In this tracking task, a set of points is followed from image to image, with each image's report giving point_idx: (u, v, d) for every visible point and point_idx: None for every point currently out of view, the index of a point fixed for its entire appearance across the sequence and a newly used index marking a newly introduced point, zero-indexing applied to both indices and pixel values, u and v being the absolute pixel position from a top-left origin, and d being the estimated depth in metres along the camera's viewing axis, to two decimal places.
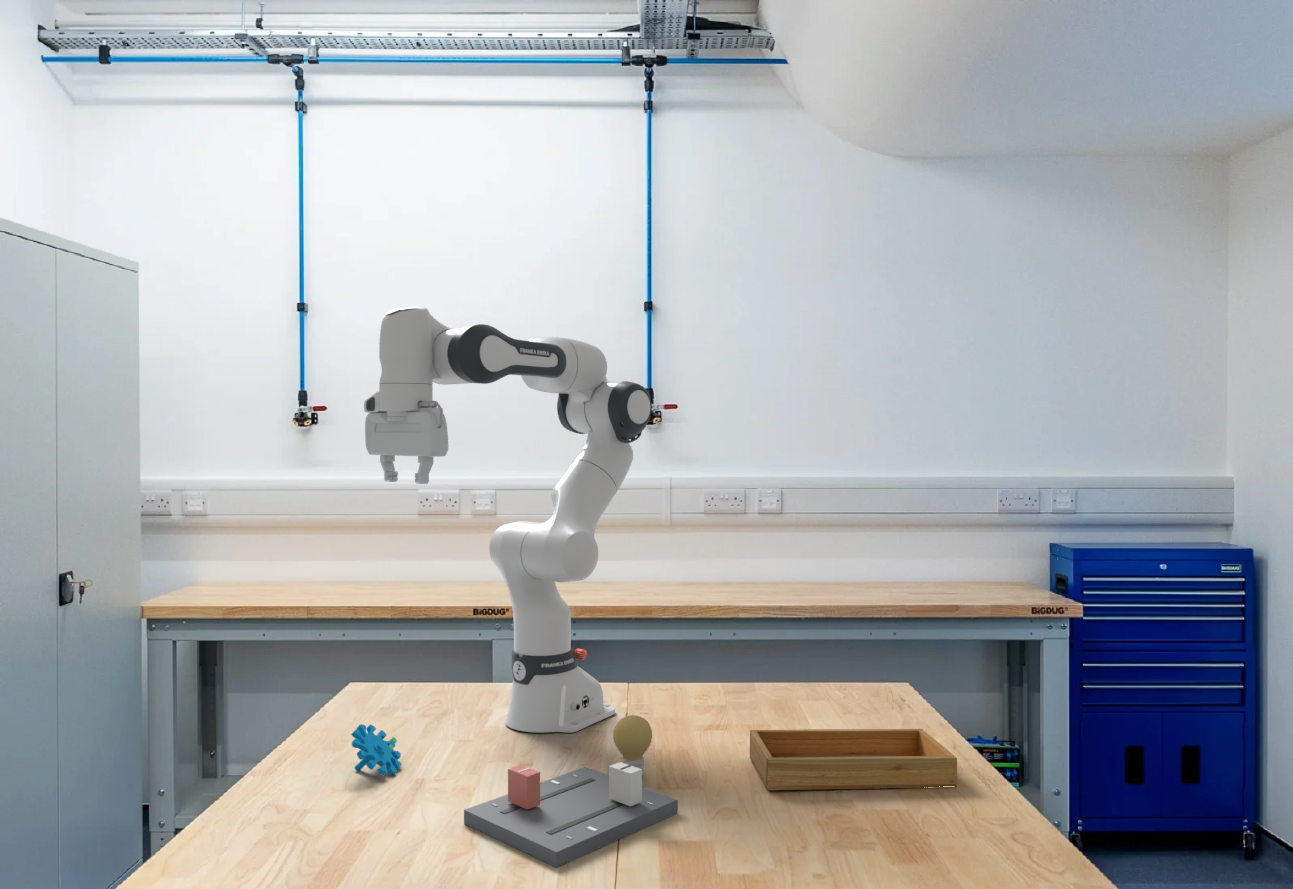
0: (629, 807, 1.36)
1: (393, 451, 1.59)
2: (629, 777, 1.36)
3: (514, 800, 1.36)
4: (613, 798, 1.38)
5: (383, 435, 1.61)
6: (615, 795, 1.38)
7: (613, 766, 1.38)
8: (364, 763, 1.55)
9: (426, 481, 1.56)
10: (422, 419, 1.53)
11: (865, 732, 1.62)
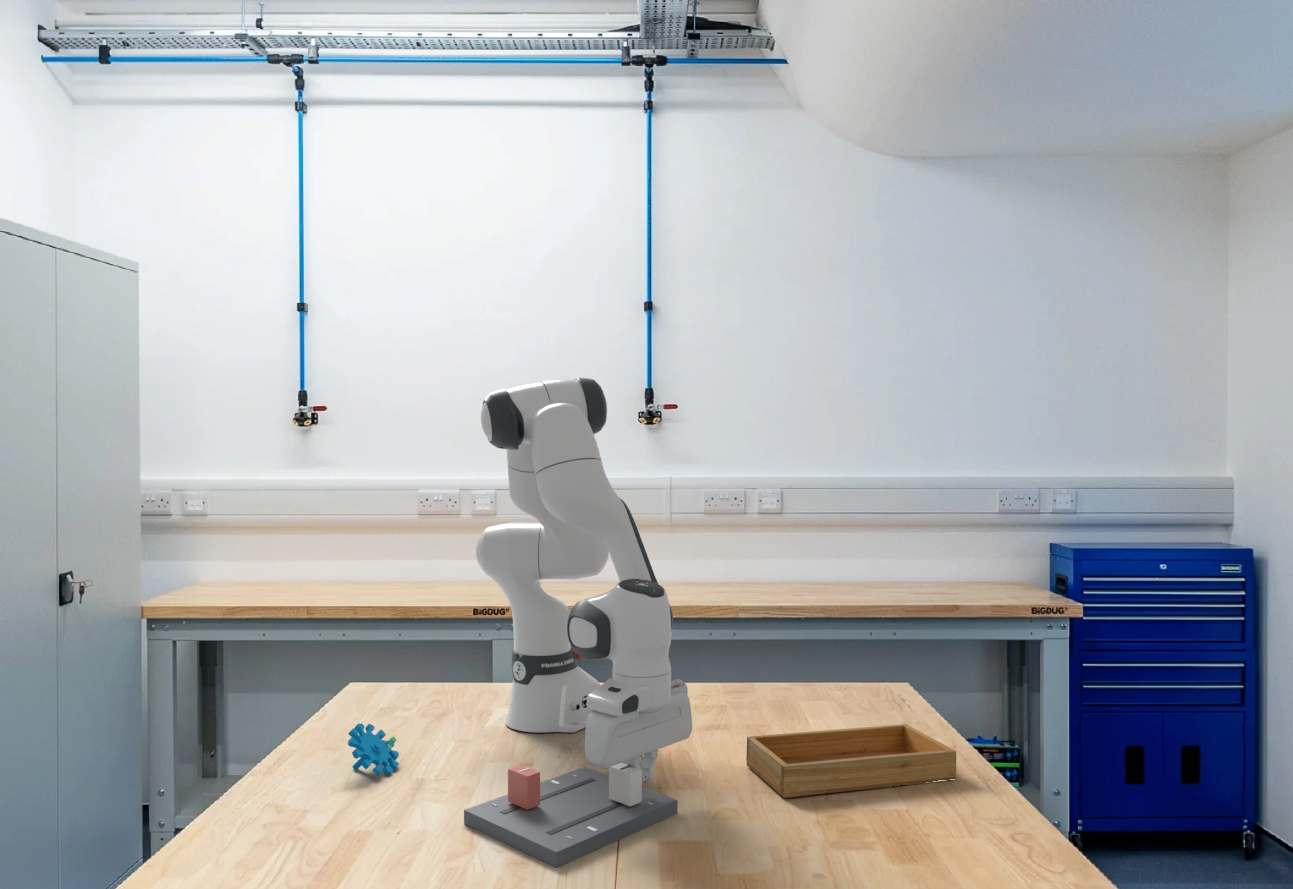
0: (629, 807, 1.36)
1: (645, 749, 1.38)
2: (628, 777, 1.36)
3: (514, 800, 1.36)
4: (613, 798, 1.38)
5: (630, 737, 1.36)
6: (615, 795, 1.38)
7: (613, 766, 1.38)
8: (361, 762, 1.56)
9: None
10: (683, 701, 1.44)
11: (856, 731, 1.63)
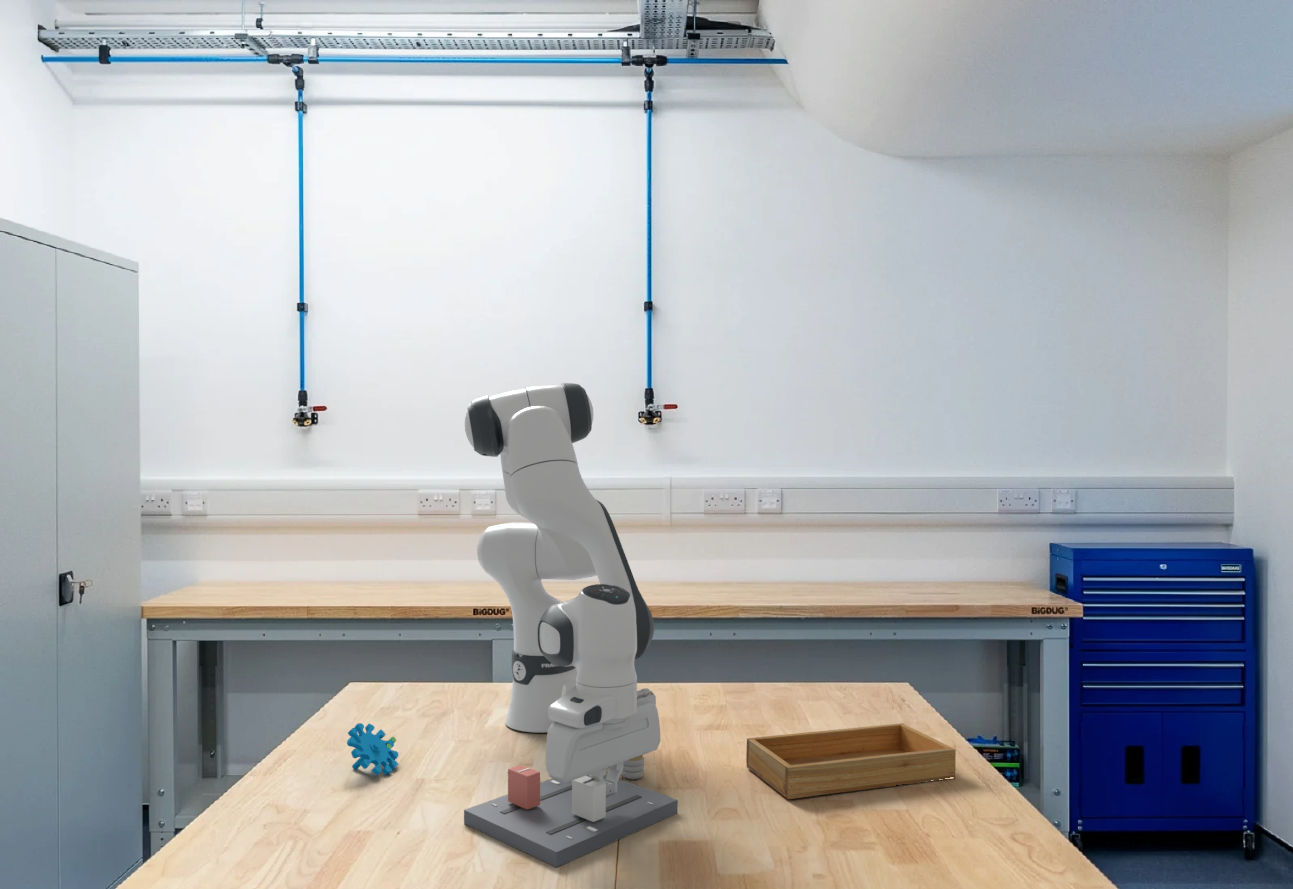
0: (629, 807, 1.36)
1: (610, 762, 1.33)
2: (591, 791, 1.30)
3: (514, 800, 1.36)
4: (576, 813, 1.32)
5: (594, 750, 1.30)
6: (578, 810, 1.32)
7: (576, 780, 1.33)
8: (361, 762, 1.56)
9: None
10: (651, 712, 1.39)
11: (853, 731, 1.63)
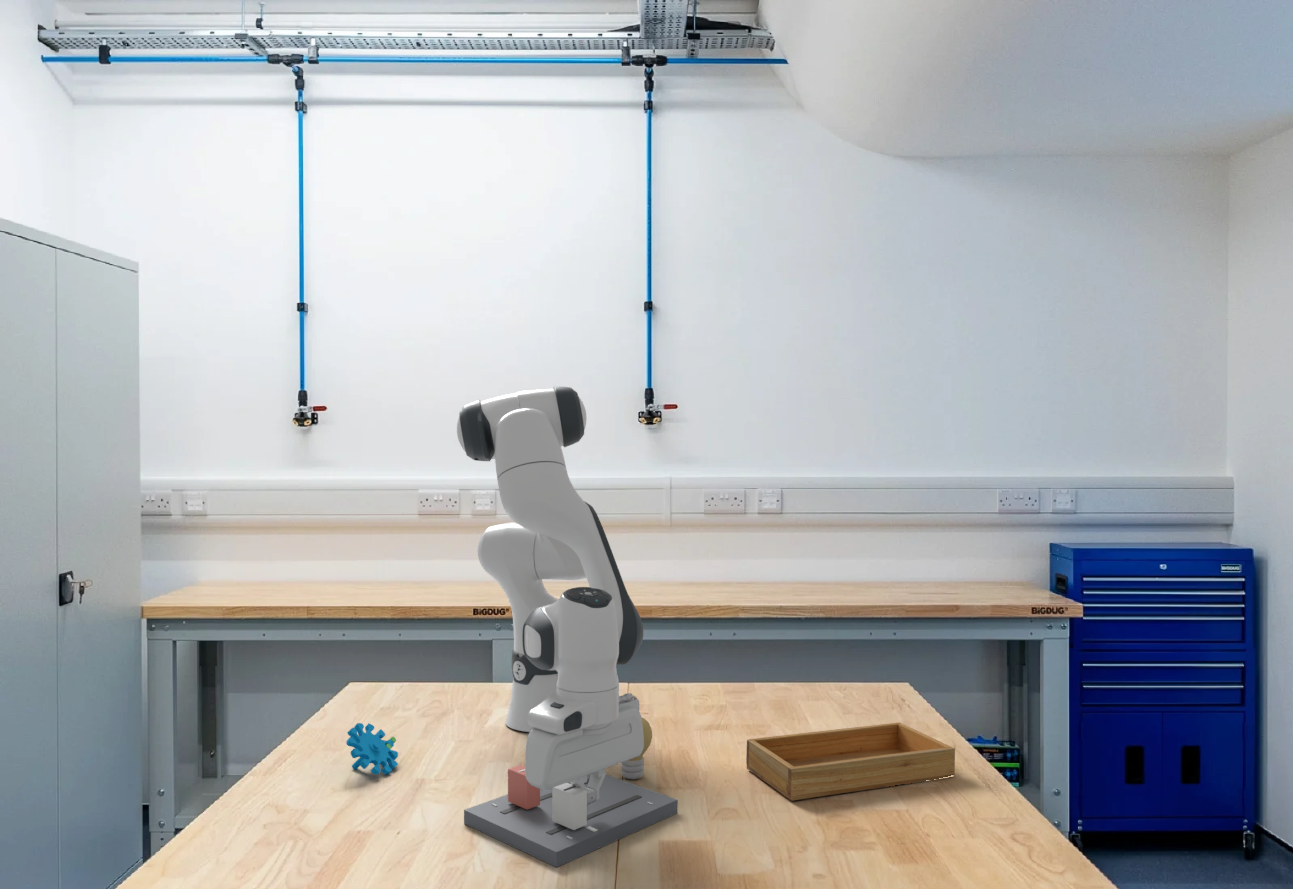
0: (629, 807, 1.36)
1: (591, 769, 1.30)
2: (572, 799, 1.27)
3: (514, 800, 1.36)
4: (556, 821, 1.30)
5: (574, 756, 1.28)
6: (558, 817, 1.29)
7: (556, 787, 1.30)
8: (360, 762, 1.56)
9: None
10: (634, 717, 1.36)
11: (852, 731, 1.63)
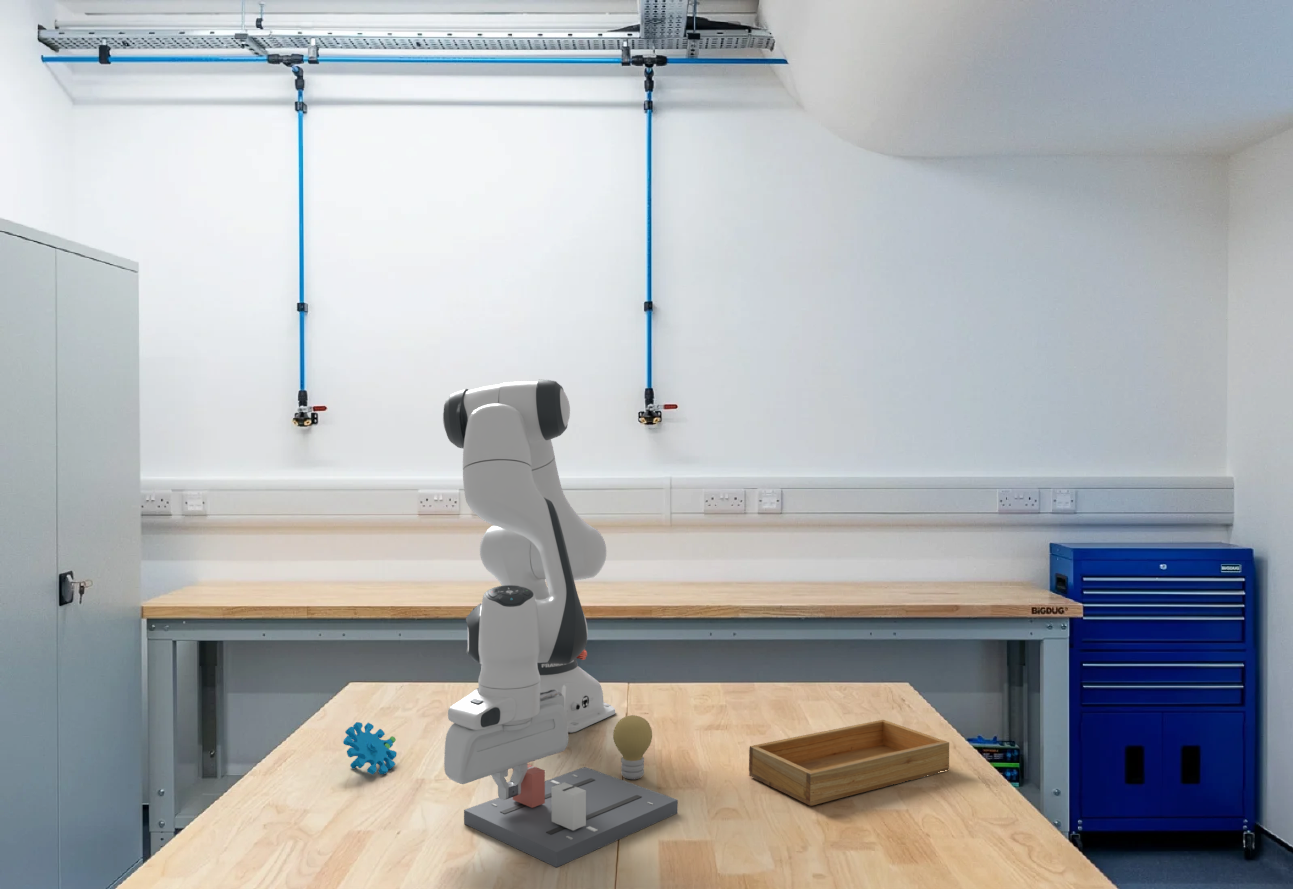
0: (629, 807, 1.36)
1: (511, 764, 1.33)
2: (571, 799, 1.27)
3: (519, 798, 1.37)
4: (555, 821, 1.30)
5: (493, 751, 1.30)
6: (557, 818, 1.29)
7: (556, 787, 1.30)
8: None
9: None
10: (557, 713, 1.39)
11: (843, 731, 1.63)
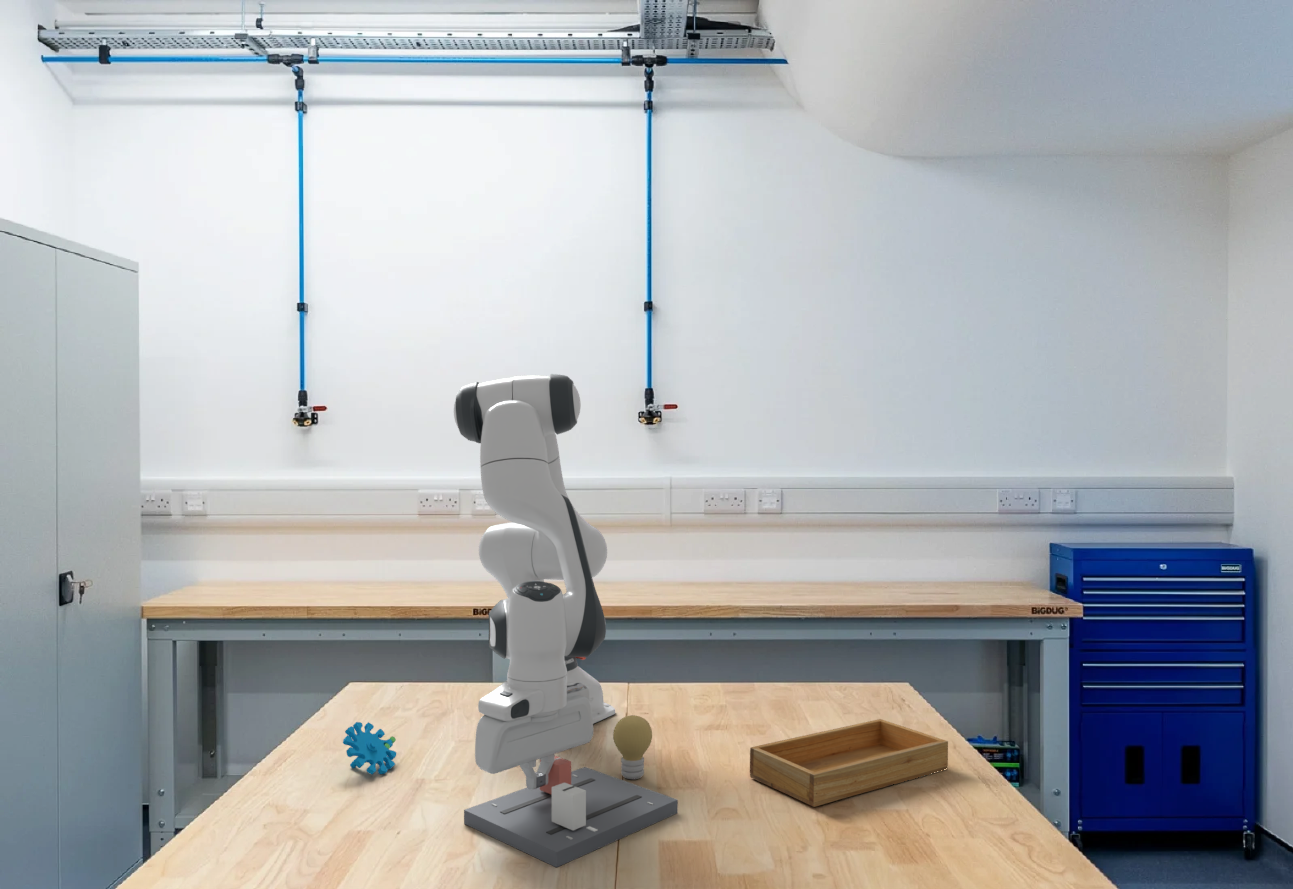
0: (629, 807, 1.36)
1: (540, 754, 1.37)
2: (571, 799, 1.27)
3: (546, 788, 1.41)
4: (555, 821, 1.30)
5: (522, 742, 1.34)
6: (557, 818, 1.29)
7: (556, 787, 1.30)
8: None
9: None
10: (583, 705, 1.43)
11: (842, 731, 1.63)
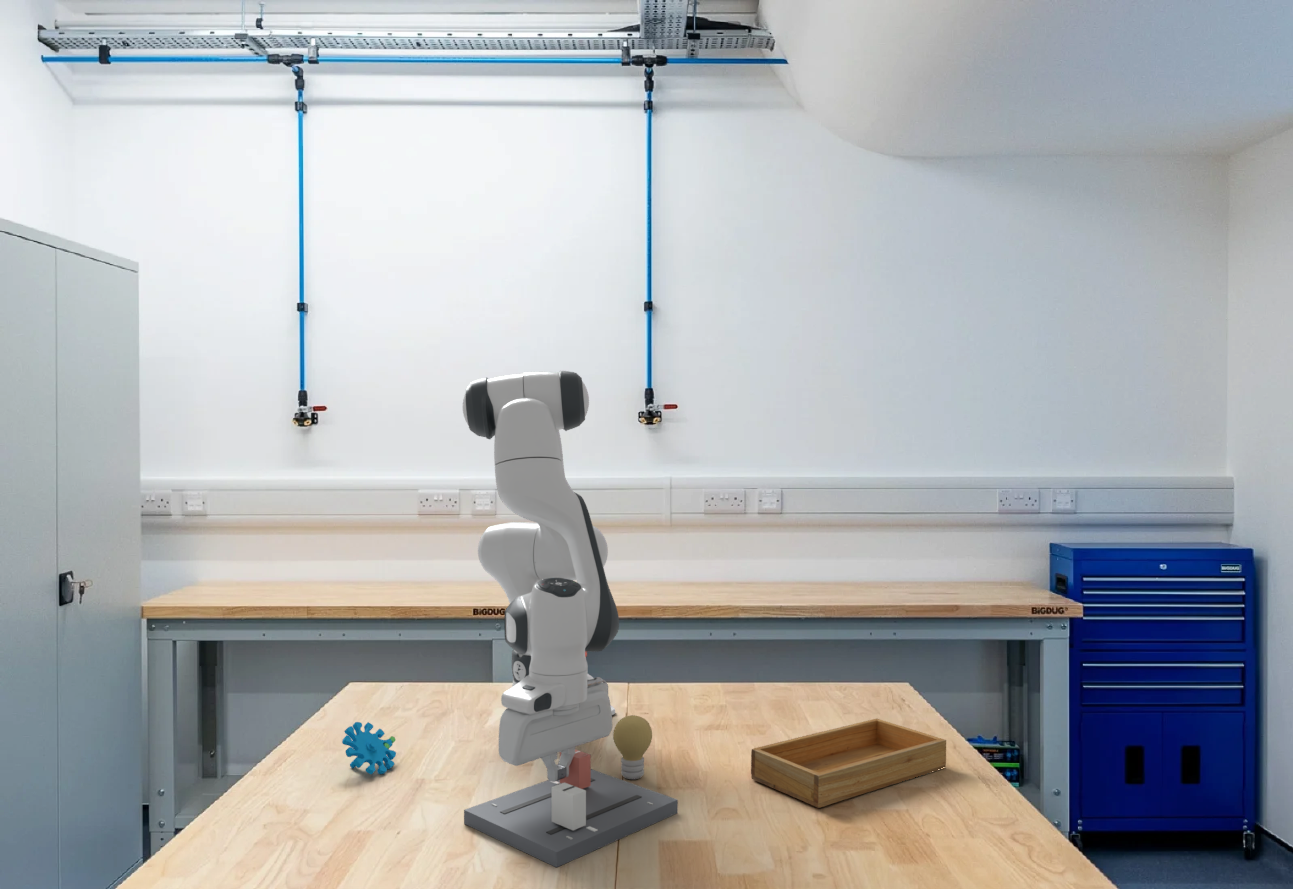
0: (629, 807, 1.36)
1: (561, 747, 1.40)
2: (571, 799, 1.27)
3: (565, 781, 1.44)
4: (555, 821, 1.30)
5: (545, 735, 1.37)
6: (557, 818, 1.29)
7: (556, 787, 1.30)
8: None
9: None
10: (602, 699, 1.46)
11: (840, 731, 1.63)
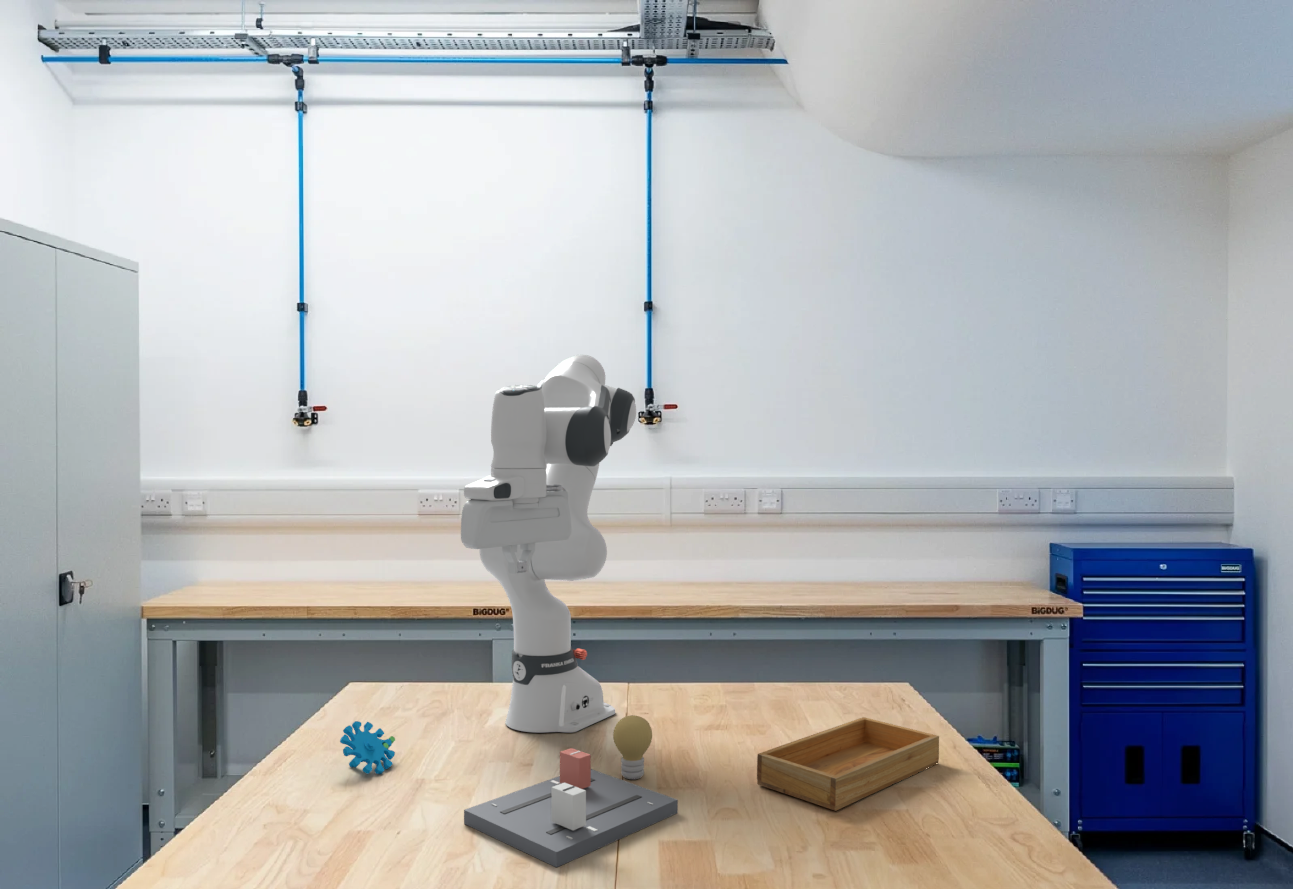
0: (629, 807, 1.36)
1: (521, 540, 1.48)
2: (571, 799, 1.27)
3: (566, 781, 1.44)
4: (555, 821, 1.30)
5: (505, 525, 1.45)
6: (557, 818, 1.29)
7: (556, 787, 1.30)
8: None
9: None
10: (562, 503, 1.54)
11: (834, 731, 1.63)
